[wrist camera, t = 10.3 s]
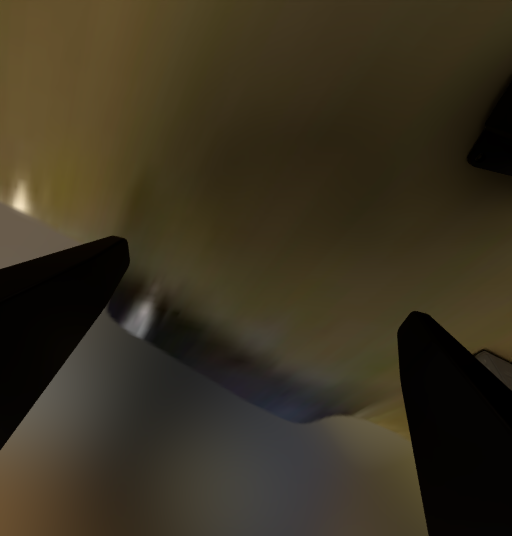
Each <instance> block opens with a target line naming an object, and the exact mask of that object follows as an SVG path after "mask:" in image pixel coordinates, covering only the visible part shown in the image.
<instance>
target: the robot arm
mask: <svg viewBox="0 0 512 536" xmlns="http://www.w3.org/2000/svg"><path fill="white" fill-rule="evenodd" d="M485 127H486V128H485V130H484V131H483V133H482V134H481V136H480V137H479V139H478V141H477V142H476V144H475V145H474V147H473V148H472V150H471V152H470V153H469V155H468V157H467V161H468V163H469V164H471V165H472V166H474V167H477V168H482V169H486V170H490V171H494V172H498V173H502V174H507V175H511V176H512V82H511V83H510V85H509V86H508V88H507V90H506V91H505V93H504V94H503V96H502V98H501V99H500V101H499V102H498V104H497V105H496V107H495V109H494V110H493V112H492V113H491V115H490V117H489V118H488V120H487V121H486V123H485ZM481 153H483V156H482V158H481V159H480V160H477V161H476V160H475V159H476V157H477V156H478V155H479V154H481ZM129 263H130V257H129V248H128V242H127V240H126V239H125V238H121V237H117V236H109V237H106V238H103V239H99V240H96V241H93V242H89V243H86V244H83V245H79V246H76V247H73V248H70V249H66V250H63V251H59V252H56V253H53V254H49V255H46V256H43V257H39V258H36V259H33V260H29V261H26V262H23V263H19V264H16V265H13V266H9V267H6V268H3V269H0V450H1V449H2V447H3V446H4V445H5V443H6V442H7V440H8V439H9V438H10V436H11V435H12V434H13V432H14V431H15V430H16V428H17V427H18V425H19V424H20V423H21V421H22V420H23V419H24V417H25V416H26V415H27V413H28V412H29V410H30V409H31V408H32V406H33V405H34V404H35V402H36V401H37V400H38V398H39V397H40V395H41V394H42V393H43V391H44V390H45V389H46V387H47V386H48V385H49V383H50V382H51V380H52V379H53V378H54V376H55V375H56V374H57V372H58V371H59V369H60V368H61V367H62V365H63V364H64V363H65V361H66V360H67V359H68V357H69V356H70V354H71V353H72V352H73V350H74V349H75V348H76V346H77V345H78V343H79V342H80V341H81V340H82V338H83V337H84V335H85V334H86V333H87V331H88V330H89V329H90V327H91V326H92V325H93V323H94V321H95V320H96V319H97V318H98V316H99V315H100V314H101V312H102V311H103V309H104V308H105V307H106V305H107V303H108V302H109V300H110V298H111V297H112V295H113V293H114V291H115V290H116V288H117V286H118V284H119V283H120V281H121V279H122V277H123V276H124V274H125V272H126V270H127V269H128V267H129ZM397 339H398V354H399V369H400V380H401V387H402V392H403V398H404V403H405V409H406V414H407V420H408V425H409V431H410V436H411V442H412V447H413V453H414V458H415V464H416V469H417V475H418V480H419V485H420V491H421V496H422V502H423V507H424V513H425V518H426V523H427V529H428V534H429V536H512V390H511V389H509V388H508V387H507V386H506V385H505V384H504V383H503V382H502V381H501V380H500V379H499V378H497V377H496V376H495V375H494V374H493V373H492V372H491V371H490V370H489V369H488V368H487V367H485V366H484V365H483V364H482V363H481V362H480V361H479V360H478V359H477V358H476V357H474V356H473V355H472V354H471V353H470V352H469V351H468V350H467V349H466V348H465V347H464V346H462V345H461V344H460V343H459V342H458V341H457V340H456V339H455V338H454V337H453V336H452V335H450V334H449V333H448V332H447V331H446V330H445V329H444V328H443V327H442V326H441V325H440V324H438V323H437V322H436V321H435V320H434V319H433V318H432V317H431V316H430V315H428V314H426V313H422V312H418V311H413V312H411V313H410V314H409V315H408V317H407V318H406V319H405V321H404V322H403V323H402V324H401V326H400V327H399V329H398V333H397Z"/></svg>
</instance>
